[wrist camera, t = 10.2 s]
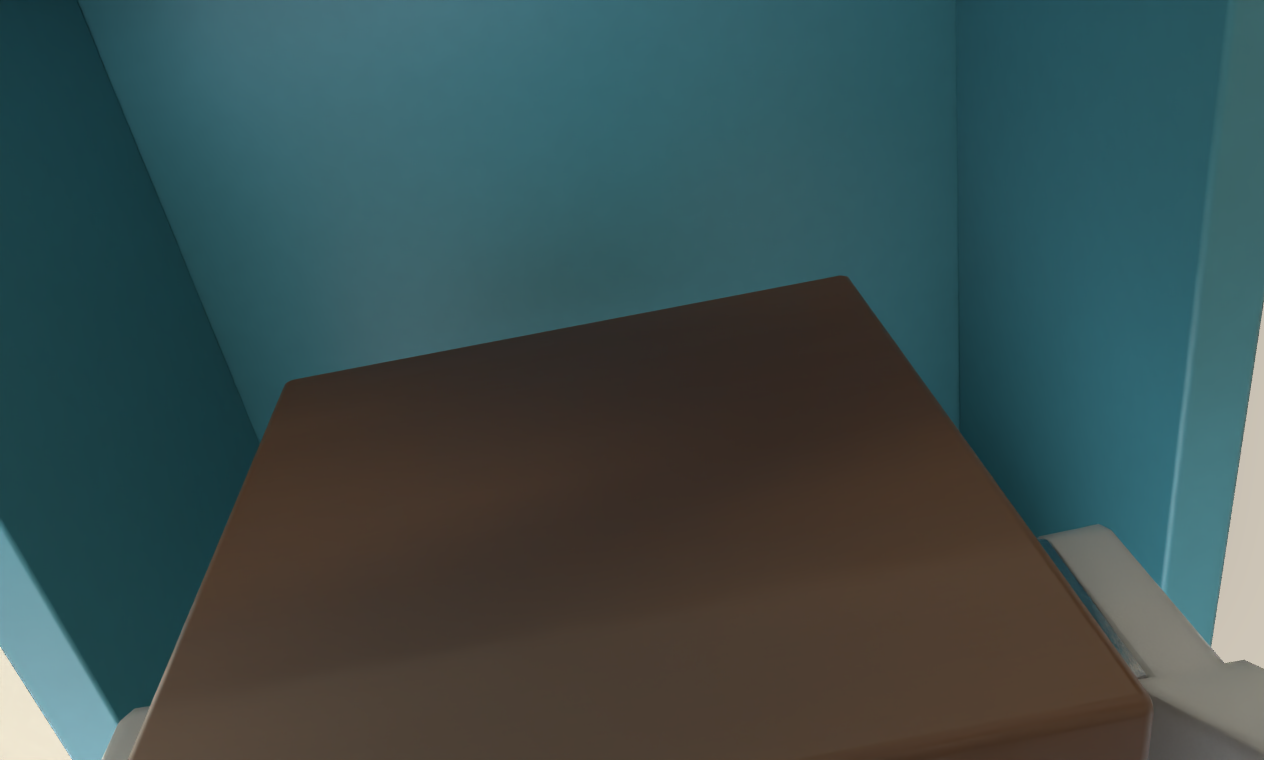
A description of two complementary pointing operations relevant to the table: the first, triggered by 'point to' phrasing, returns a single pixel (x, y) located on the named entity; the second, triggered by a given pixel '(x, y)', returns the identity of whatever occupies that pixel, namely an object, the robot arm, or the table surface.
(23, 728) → the table surface
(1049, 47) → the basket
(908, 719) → the block
